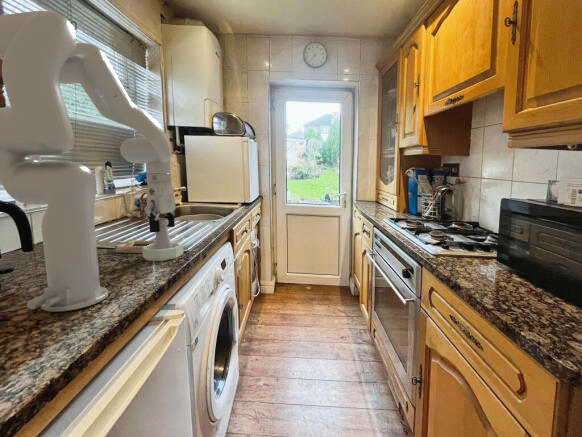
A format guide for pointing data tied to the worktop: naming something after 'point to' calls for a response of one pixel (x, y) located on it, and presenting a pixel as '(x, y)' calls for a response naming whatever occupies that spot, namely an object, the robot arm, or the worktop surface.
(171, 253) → the holder ring
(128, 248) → the tray
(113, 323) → the worktop surface
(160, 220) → the salt shaker
